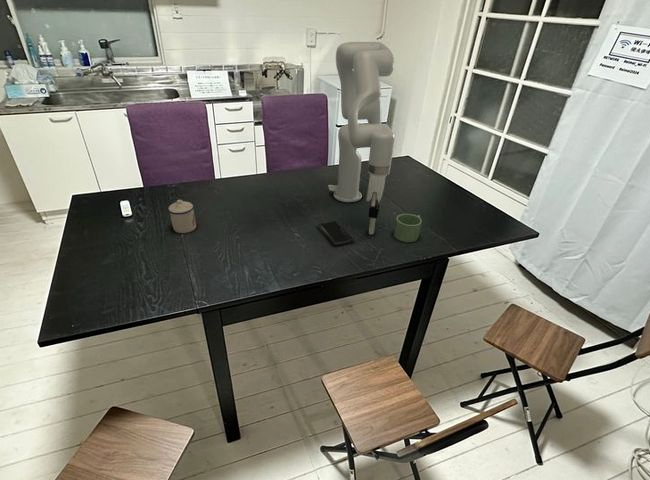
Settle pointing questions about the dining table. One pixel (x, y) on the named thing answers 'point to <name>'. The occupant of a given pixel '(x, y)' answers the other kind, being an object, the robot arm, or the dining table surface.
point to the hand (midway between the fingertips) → (373, 215)
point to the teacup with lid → (182, 216)
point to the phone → (335, 233)
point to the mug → (407, 227)
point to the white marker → (372, 225)
